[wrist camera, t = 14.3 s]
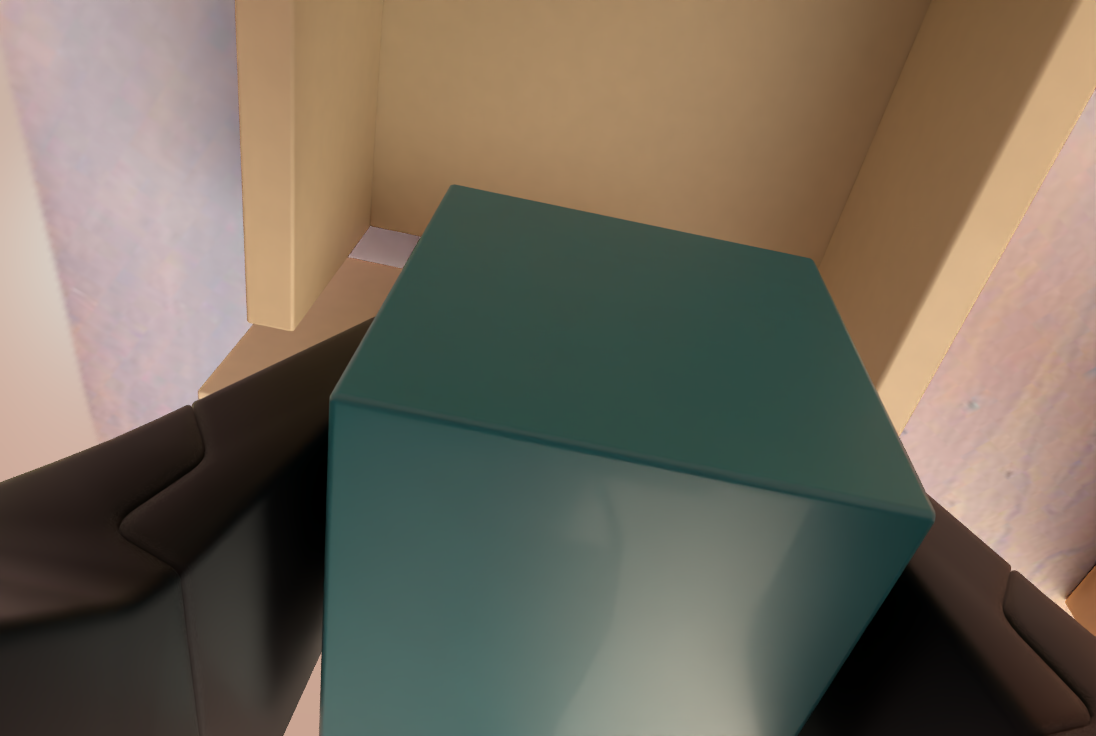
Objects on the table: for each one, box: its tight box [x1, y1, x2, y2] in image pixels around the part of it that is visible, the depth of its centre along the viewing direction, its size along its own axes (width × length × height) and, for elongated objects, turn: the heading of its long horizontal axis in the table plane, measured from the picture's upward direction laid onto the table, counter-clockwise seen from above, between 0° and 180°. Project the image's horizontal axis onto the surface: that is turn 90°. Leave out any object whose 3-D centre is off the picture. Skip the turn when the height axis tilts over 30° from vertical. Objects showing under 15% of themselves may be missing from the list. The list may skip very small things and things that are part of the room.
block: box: [319, 184, 936, 736], centre depth 8 cm, size 4×4×4 cm
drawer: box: [198, 0, 1096, 436], centre depth 14 cm, size 20×13×6 cm, turn 170°
